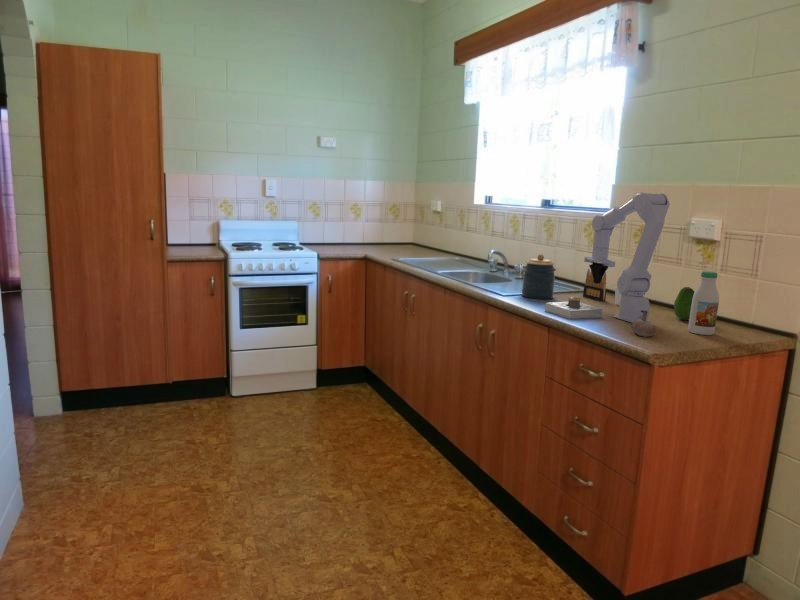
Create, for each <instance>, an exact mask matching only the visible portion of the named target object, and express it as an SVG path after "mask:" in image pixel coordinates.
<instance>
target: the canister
mask: <svg viewBox="0 0 800 600" xmlns="http://www.w3.org/2000/svg"><path fill="white" fill-rule="evenodd" d="M554 265H555V263H554V262H553V261H552V260H550V259H547V258H545V256H544V255H543V254H542V253H540V254H538V255H537V257H536V258H529V259H528V260H527V261H526V265H525V266H524V267H523V269H524V274H523V275H522V279H523V280H522V288H521V295H522V297H525V298H529V299H536V300H549V299H550V300H551V299H553V297H554V295H555V294H554V293H555V291H554V290H555V279H556V276H555V272H556V270H557V268H555V267H554Z"/></svg>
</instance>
